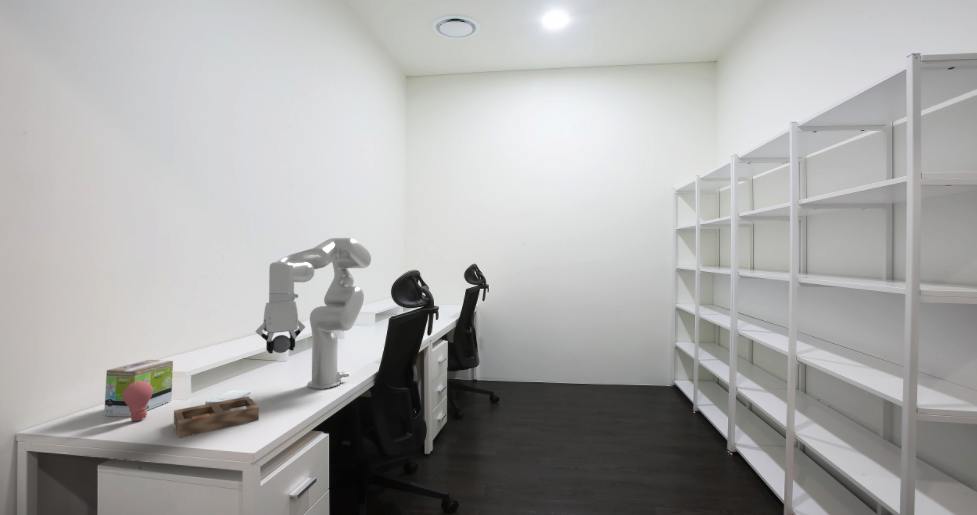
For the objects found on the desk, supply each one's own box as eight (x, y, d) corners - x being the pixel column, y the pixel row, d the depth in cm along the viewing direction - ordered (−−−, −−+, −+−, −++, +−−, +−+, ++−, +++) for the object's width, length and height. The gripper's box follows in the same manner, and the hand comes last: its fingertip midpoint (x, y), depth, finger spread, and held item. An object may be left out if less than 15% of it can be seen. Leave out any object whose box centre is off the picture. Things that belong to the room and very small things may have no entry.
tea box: (133, 417, 128) (134, 370, 129) (103, 416, 129) (104, 369, 129) (173, 401, 144) (173, 359, 144) (146, 400, 144) (146, 358, 144)
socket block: (248, 408, 137) (248, 395, 138) (258, 419, 128) (258, 405, 128) (173, 423, 124) (173, 409, 124) (178, 437, 114) (179, 422, 114)
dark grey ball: (287, 350, 142) (287, 332, 143) (293, 352, 138) (293, 335, 138) (268, 352, 138) (268, 334, 138) (273, 355, 134) (274, 337, 134)
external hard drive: (250, 395, 152) (228, 406, 140) (229, 394, 153) (205, 406, 140) (250, 390, 152) (228, 401, 140) (229, 390, 153) (205, 401, 140)
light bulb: (116, 422, 124) (117, 383, 124) (143, 414, 131) (144, 377, 131) (131, 426, 121) (131, 386, 122) (157, 418, 128) (158, 379, 128)
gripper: (304, 296, 147) (303, 346, 147) (250, 299, 135) (249, 353, 135) (311, 297, 141) (311, 349, 141) (255, 300, 130) (255, 357, 130)
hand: (280, 350), depth 138 cm, fingers closed on dark grey ball, 5 cm apart
